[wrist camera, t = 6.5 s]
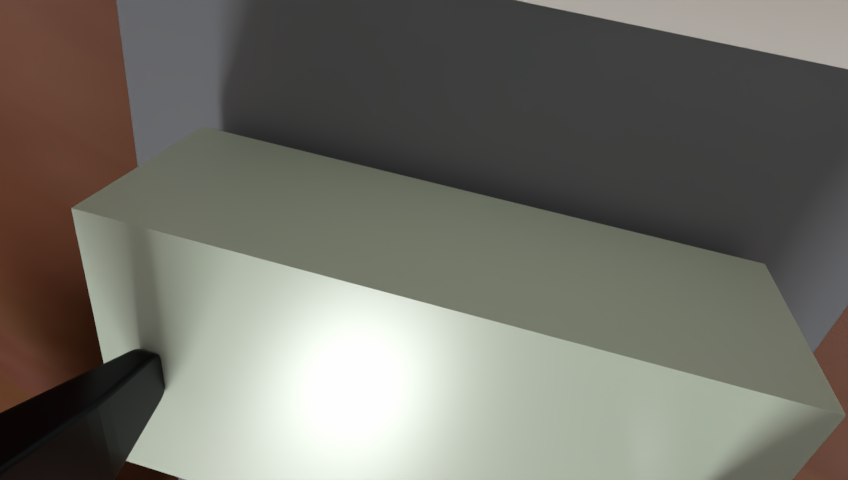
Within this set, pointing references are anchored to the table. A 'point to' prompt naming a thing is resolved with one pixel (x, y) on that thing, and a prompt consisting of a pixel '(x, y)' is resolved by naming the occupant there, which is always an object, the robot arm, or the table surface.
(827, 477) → the table surface
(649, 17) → the white rectangular block
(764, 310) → the pale green rectangular block
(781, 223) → the console
